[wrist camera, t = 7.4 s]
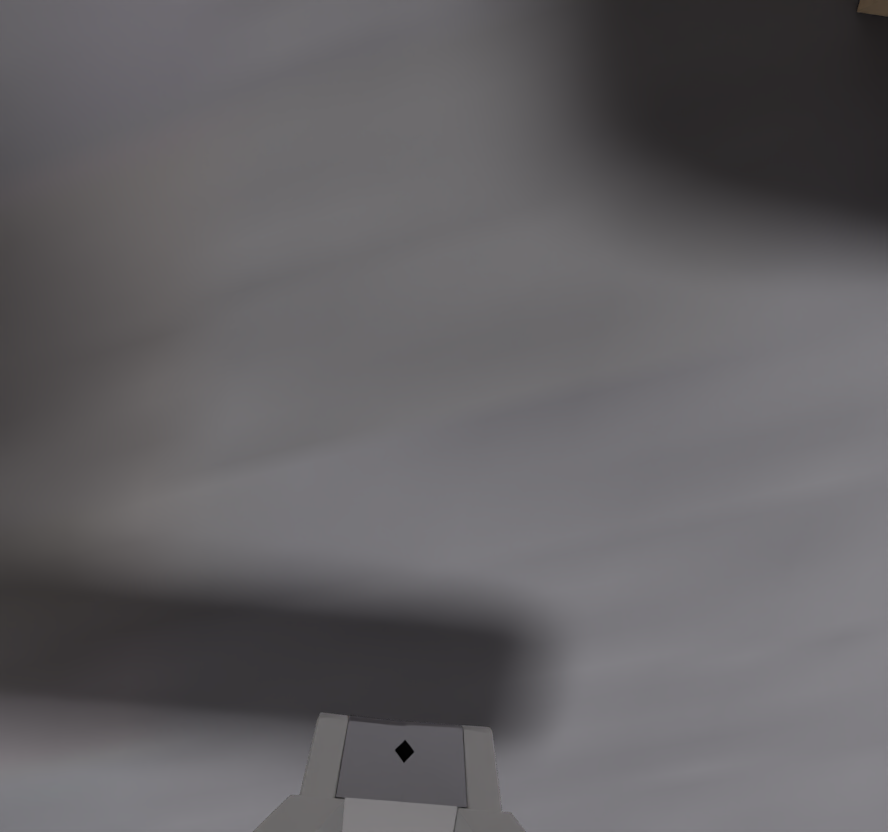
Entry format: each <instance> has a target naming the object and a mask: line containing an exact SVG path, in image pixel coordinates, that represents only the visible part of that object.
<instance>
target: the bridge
mask: <svg viewBox="0 0 888 832" xmlns="http://www.w3.org/2000/svg"><path fill="white" fill-rule="evenodd" d="M857 12H860V13H867V14H873V15H880V16H886V17H888V0H860V2H859V6H858V9H857Z"/></svg>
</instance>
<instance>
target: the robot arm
mask: <svg viewBox="0 0 888 832" xmlns="http://www.w3.org/2000/svg"><path fill="white" fill-rule="evenodd" d="M253 832H526V831H525V830H524V829H523V827H522V826H521V825H520V824H519V822H518V821H517V820H516V818H515V817H514V816H513V815H512V813H510V812H502V806H501V797H500V789H499V781H498V772H497V764H496V756H495V748H494V739H493V732H492V730H491V728H490V727H482V726H468V725H462V726H461V725H453V724H440V723H426V722H413V721H399V720H390V719H381V718H372V717H363V716H355V715H350V717H349V716H348V715H339V714H331V713H323V712H320V714H319V717H318V719H317V722H316V727H315V731H314V735H313V739H312V744H311V748H310V752H309V756H308V761H307V765H306V769H305V774H304V778H303V782H302V786H301V791H300V795H290V796H289V797H288V798H287V799H286V800H285V801H284V802H283V803H282V804H281V805H280V806H279V807H278V808H277V809H276V810H274V811H273V812H272V813H271V814H270V815H269V816H268V817H267V818H266V819H265V820H264V821H263V822H262V823H261V824H260V825H259V826H258V827H257V828H256V829H255V830H254V831H253Z"/></svg>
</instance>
